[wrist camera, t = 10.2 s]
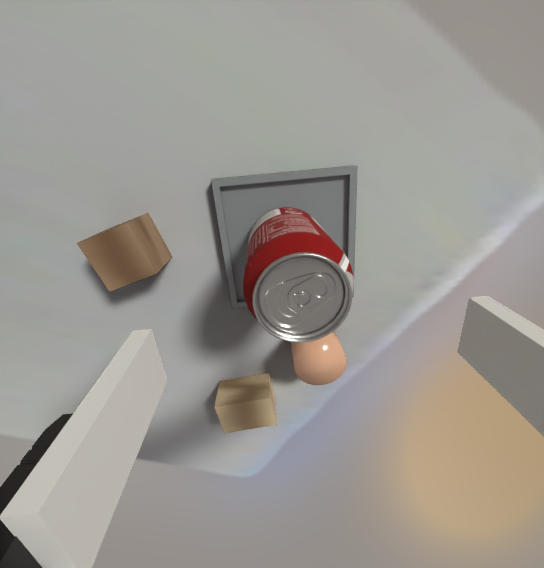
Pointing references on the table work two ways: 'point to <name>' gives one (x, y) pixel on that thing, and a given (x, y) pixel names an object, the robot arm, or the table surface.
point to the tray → (283, 193)
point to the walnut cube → (126, 252)
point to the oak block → (246, 403)
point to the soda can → (296, 277)
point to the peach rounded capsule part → (319, 360)
